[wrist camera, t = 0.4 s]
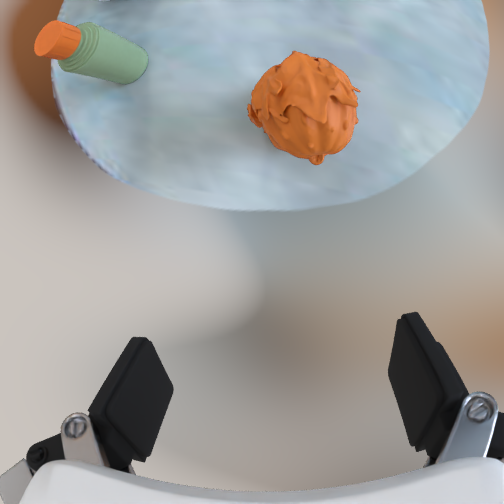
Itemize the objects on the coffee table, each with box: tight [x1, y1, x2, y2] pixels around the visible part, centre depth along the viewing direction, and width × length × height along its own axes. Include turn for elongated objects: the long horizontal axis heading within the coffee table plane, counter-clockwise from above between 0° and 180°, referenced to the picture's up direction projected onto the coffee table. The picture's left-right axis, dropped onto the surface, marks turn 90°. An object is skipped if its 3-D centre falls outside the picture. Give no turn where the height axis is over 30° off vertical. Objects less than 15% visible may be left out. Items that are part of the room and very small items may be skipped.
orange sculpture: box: [247, 51, 360, 165], centre depth 25 cm, size 11×11×18 cm
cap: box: [34, 20, 81, 60], centre depth 16 cm, size 4×4×4 cm
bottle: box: [58, 22, 148, 84], centre depth 23 cm, size 6×6×18 cm
